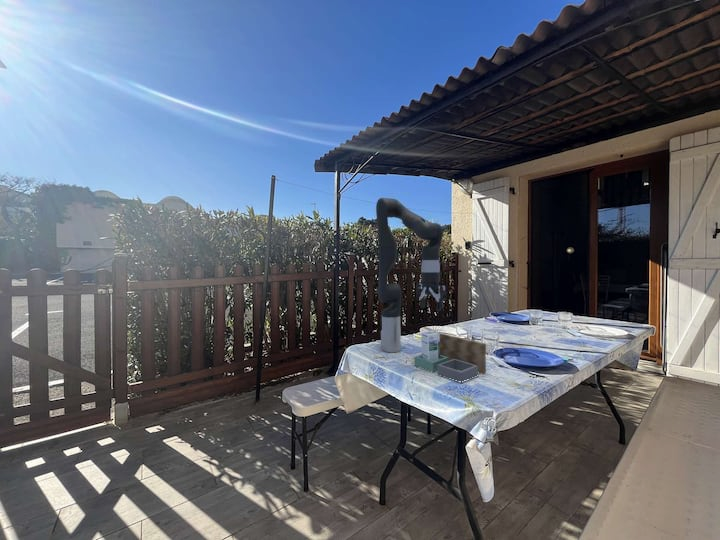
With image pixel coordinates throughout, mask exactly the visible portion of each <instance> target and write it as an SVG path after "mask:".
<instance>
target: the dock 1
mask: <svg viewBox="0 0 720 540" xmlns="http://www.w3.org/2000/svg"><path fill="white" fill-rule="evenodd" d="M413 359H414V367H416V366H417V368H419V367H421V368H420V369H422V368H424V369H426V370H425V371H427V370H429V371H428V372H430V371H432V372H431V373H435V371H436V372H437V365H438V364H441V363H443V362H446V361H448V357H445V356H442V355H440V359H439V360H436V361H433V362H432V361H429V360H426V359H423V358H422V354H420V355H418V354H417V355H416V356H414V358H413ZM424 369H423V370H424Z"/></svg>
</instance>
